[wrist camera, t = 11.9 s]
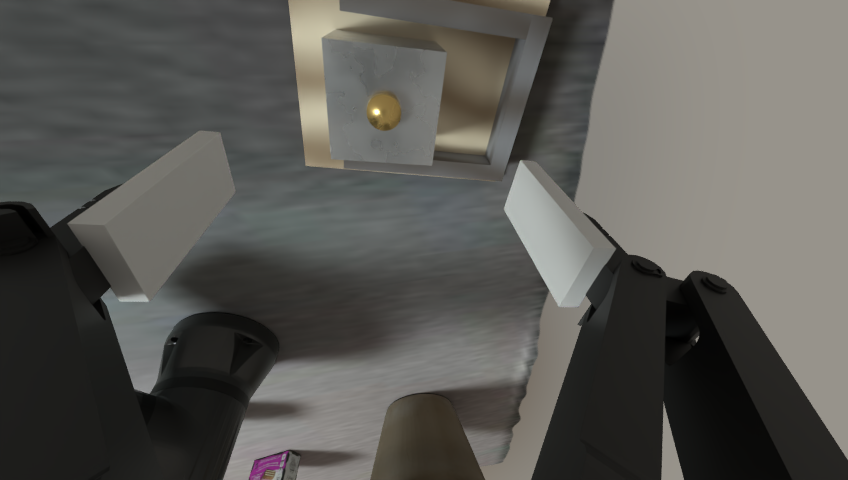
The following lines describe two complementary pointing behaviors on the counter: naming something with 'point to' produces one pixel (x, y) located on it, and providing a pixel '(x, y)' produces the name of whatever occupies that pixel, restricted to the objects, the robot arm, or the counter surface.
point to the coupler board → (463, 78)
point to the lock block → (382, 96)
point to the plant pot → (424, 442)
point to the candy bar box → (276, 467)
